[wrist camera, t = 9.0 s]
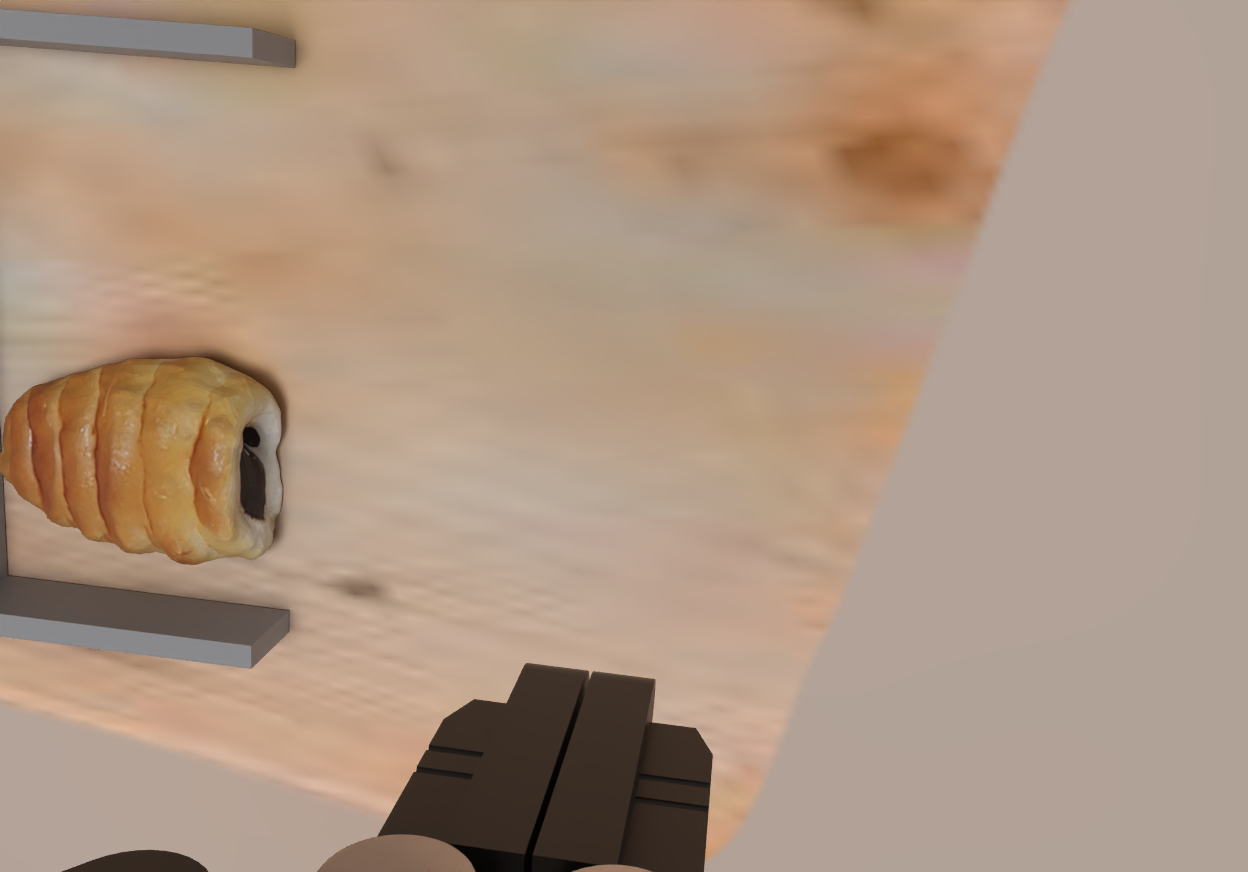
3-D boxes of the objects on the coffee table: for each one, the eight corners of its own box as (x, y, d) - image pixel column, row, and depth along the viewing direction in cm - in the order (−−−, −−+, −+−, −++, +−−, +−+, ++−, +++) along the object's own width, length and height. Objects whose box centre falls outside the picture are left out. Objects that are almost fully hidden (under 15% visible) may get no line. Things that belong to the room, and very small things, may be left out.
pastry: (37, 528, 39) (-38, 563, 35) (23, 338, 38) (-56, 354, 34) (293, 550, 38) (244, 589, 34) (289, 356, 37) (238, 375, 33)
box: (-46, 15, 35) (-118, 0, 32) (295, 40, 34) (252, 27, 31) (-13, 593, 40) (-73, 627, 37) (288, 631, 39) (251, 668, 36)
